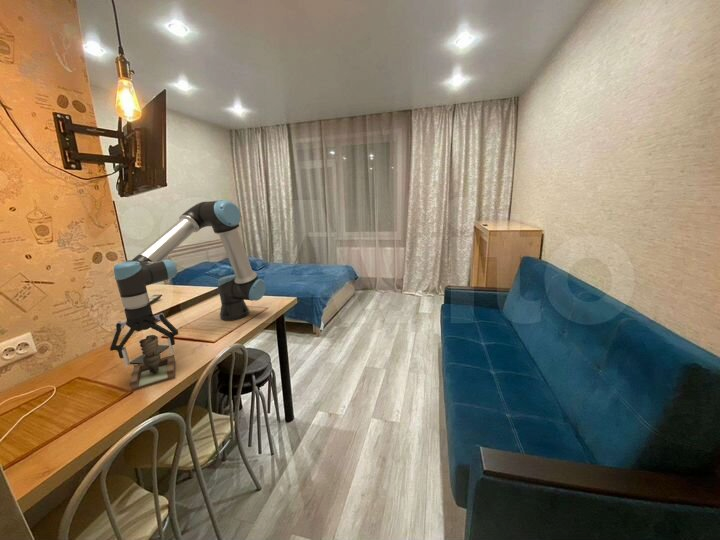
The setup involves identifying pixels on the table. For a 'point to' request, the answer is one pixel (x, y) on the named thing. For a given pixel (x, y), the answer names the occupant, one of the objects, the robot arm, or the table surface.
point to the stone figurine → (150, 353)
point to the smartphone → (140, 359)
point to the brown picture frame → (152, 374)
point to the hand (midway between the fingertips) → (150, 358)
